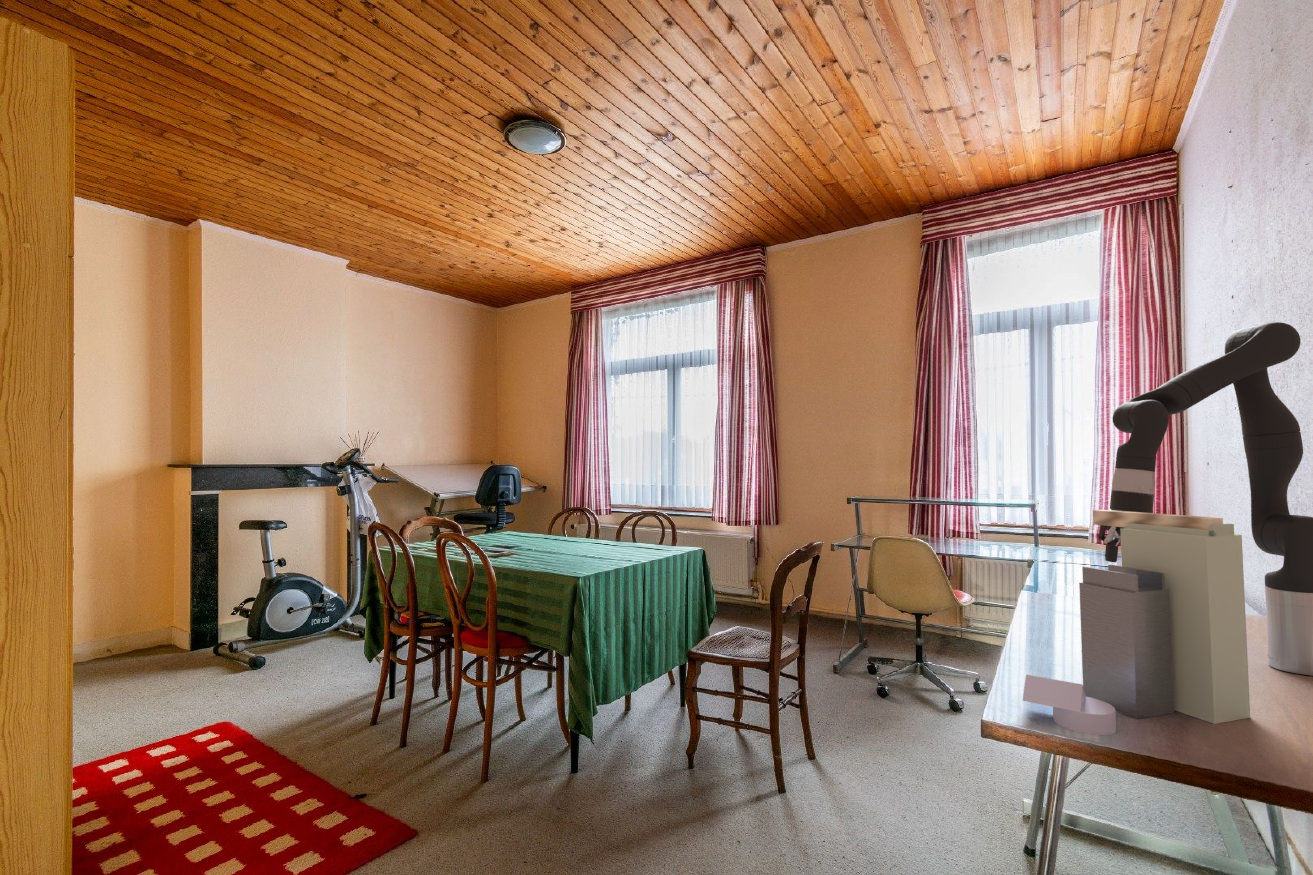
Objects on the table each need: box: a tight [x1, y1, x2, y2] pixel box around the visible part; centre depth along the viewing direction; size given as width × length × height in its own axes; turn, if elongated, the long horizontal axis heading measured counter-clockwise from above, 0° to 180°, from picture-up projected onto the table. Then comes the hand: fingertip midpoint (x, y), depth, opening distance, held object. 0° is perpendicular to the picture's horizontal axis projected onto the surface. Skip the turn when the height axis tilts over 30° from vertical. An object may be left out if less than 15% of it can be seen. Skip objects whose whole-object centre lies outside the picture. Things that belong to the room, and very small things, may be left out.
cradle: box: [1078, 564, 1175, 720], centre depth 117 cm, size 10×9×25 cm
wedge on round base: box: [1022, 674, 1117, 736], centre depth 110 cm, size 9×7×13 cm
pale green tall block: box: [1120, 523, 1251, 725], centre depth 117 cm, size 15×9×34 cm, turn 17°
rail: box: [1092, 509, 1224, 530], centre depth 122 cm, size 22×3×3 cm, turn 17°
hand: (1125, 564), depth 137 cm, fingers open, 8 cm apart
